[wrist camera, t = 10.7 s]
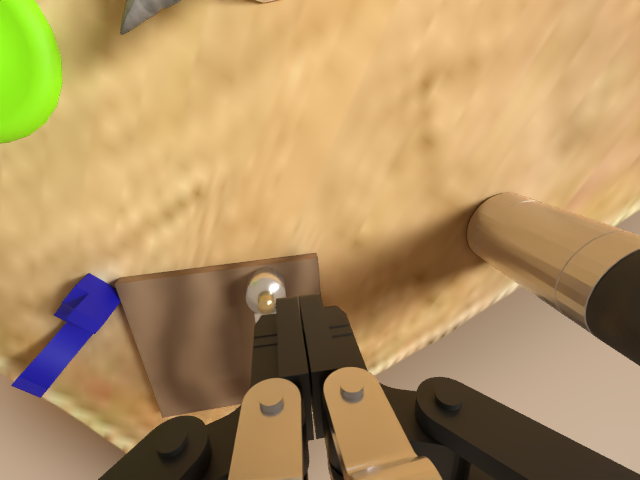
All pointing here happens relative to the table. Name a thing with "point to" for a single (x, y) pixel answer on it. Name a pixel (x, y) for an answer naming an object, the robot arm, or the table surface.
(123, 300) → the board
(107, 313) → the cable clip
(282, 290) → the link
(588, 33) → the table surface
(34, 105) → the wineglass
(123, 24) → the inkwell
